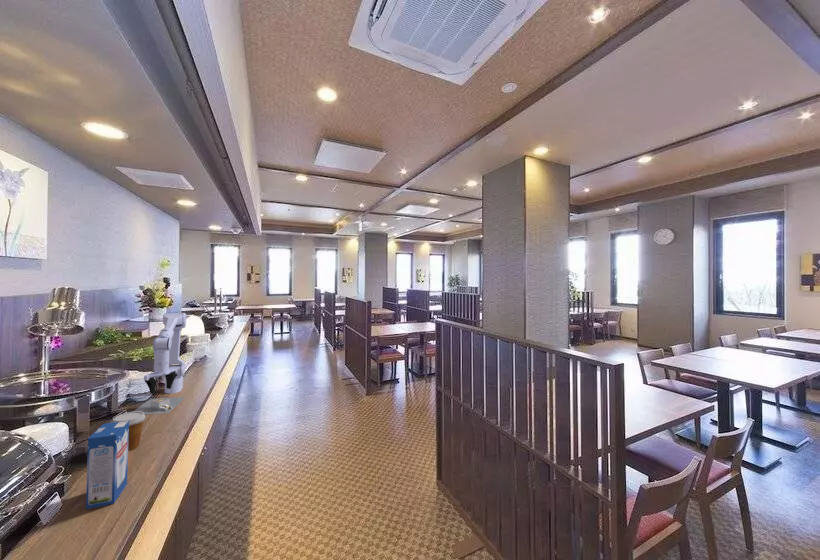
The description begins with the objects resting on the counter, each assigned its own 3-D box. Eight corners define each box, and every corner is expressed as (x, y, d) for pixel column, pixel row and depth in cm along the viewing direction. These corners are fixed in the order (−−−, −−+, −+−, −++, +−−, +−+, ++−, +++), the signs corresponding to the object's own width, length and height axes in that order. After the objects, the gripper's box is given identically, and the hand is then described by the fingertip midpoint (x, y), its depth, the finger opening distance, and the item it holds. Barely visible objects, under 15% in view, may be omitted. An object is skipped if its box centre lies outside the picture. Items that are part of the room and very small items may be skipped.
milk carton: (101, 488, 102) (103, 423, 101) (127, 483, 104) (129, 420, 104) (85, 509, 92) (87, 438, 92) (114, 504, 95) (116, 434, 95)
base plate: (149, 401, 168) (150, 391, 168) (185, 399, 173) (185, 390, 173) (127, 417, 149) (128, 406, 149) (168, 415, 153) (169, 404, 153)
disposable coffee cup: (129, 454, 120) (130, 422, 120) (104, 453, 120) (105, 420, 120) (150, 441, 129) (151, 411, 129) (127, 440, 130) (128, 410, 130)
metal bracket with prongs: (150, 409, 156) (150, 401, 156) (161, 405, 161) (161, 397, 161) (163, 411, 154) (164, 403, 154) (174, 407, 159) (174, 399, 159)
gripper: (151, 367, 150) (150, 397, 150) (182, 360, 164) (181, 387, 164) (140, 365, 152) (140, 395, 152) (172, 358, 166) (171, 385, 166)
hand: (160, 390), depth 158 cm, fingers open, 7 cm apart
